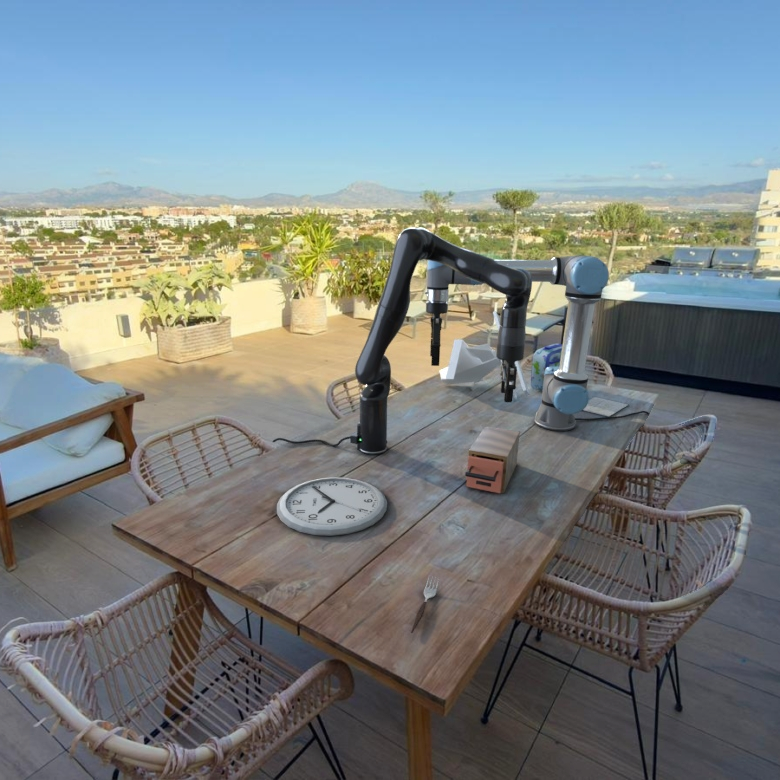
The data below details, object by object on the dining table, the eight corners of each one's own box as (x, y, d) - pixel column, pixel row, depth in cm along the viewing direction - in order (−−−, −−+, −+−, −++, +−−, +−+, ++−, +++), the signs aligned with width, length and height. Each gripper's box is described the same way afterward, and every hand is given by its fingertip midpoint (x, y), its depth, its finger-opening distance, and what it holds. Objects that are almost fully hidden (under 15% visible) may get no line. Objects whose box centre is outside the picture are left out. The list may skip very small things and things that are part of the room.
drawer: (495, 502, 144) (498, 472, 141) (460, 495, 147) (462, 465, 144) (512, 465, 166) (515, 438, 163) (482, 460, 170) (484, 433, 167)
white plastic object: (461, 429, 252) (437, 405, 227) (444, 352, 274) (420, 323, 250) (535, 404, 240) (518, 377, 215) (510, 326, 262) (492, 293, 237)
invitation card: (608, 416, 214) (573, 407, 224) (608, 416, 214) (573, 408, 224) (628, 404, 229) (594, 396, 238) (628, 405, 229) (594, 397, 238)
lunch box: (547, 395, 239) (552, 351, 233) (526, 390, 247) (530, 347, 240) (574, 384, 257) (579, 343, 251) (554, 380, 264) (558, 339, 258)
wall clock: (392, 527, 129) (268, 531, 127) (391, 533, 130) (269, 537, 127) (383, 473, 158) (282, 475, 155) (383, 478, 158) (282, 480, 156)
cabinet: (503, 492, 151) (507, 456, 148) (466, 485, 155) (468, 450, 152) (516, 464, 170) (519, 431, 166) (483, 458, 174) (485, 426, 170)
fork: (404, 633, 98) (405, 624, 97) (428, 582, 112) (428, 574, 112) (418, 637, 97) (418, 628, 97) (440, 584, 111) (440, 576, 111)
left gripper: (494, 336, 153) (490, 389, 158) (500, 347, 139) (495, 404, 144) (521, 337, 152) (516, 390, 157) (528, 348, 139) (523, 405, 144)
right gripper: (425, 296, 193) (423, 352, 200) (426, 306, 170) (424, 369, 176) (445, 297, 193) (443, 353, 199) (450, 306, 169) (447, 370, 176)
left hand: (506, 397), depth 151 cm, fingers open, 8 cm apart
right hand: (434, 360), depth 188 cm, fingers open, 13 cm apart
